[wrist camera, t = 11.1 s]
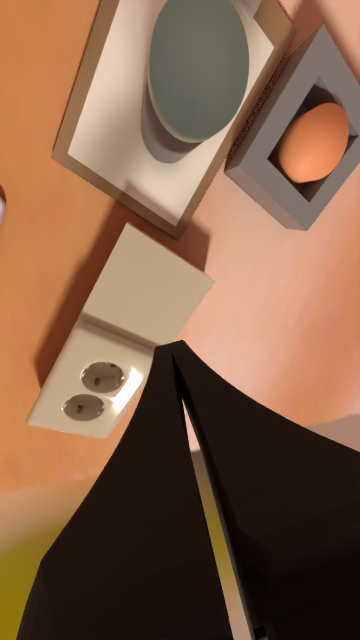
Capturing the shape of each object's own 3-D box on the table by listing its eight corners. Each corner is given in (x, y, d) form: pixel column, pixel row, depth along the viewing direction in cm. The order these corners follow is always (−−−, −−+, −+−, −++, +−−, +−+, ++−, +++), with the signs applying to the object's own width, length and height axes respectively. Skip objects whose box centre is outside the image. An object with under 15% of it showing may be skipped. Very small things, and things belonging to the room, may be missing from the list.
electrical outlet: (219, 285, 15) (106, 442, 20) (203, 270, 18) (110, 407, 23) (126, 223, 12) (22, 426, 17) (127, 220, 15) (41, 389, 20)
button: (261, 162, 14) (281, 154, 12) (298, 102, 13) (326, 84, 11) (294, 195, 16) (316, 193, 14) (329, 144, 14) (359, 134, 13)
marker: (165, 177, 14) (192, 159, 8) (127, 123, 12) (126, 50, 6) (204, 137, 13) (265, 86, 7) (170, 75, 11) (213, -57, 6)
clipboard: (53, 159, 13) (47, 155, 12) (158, -164, 9) (160, -206, 8) (177, 239, 16) (179, 241, 15) (292, 37, 12) (304, 23, 11)
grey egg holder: (223, 172, 15) (238, 166, 13) (291, 54, 12) (323, 23, 10) (286, 228, 17) (307, 230, 15) (350, 139, 15) (385, 128, 13)
